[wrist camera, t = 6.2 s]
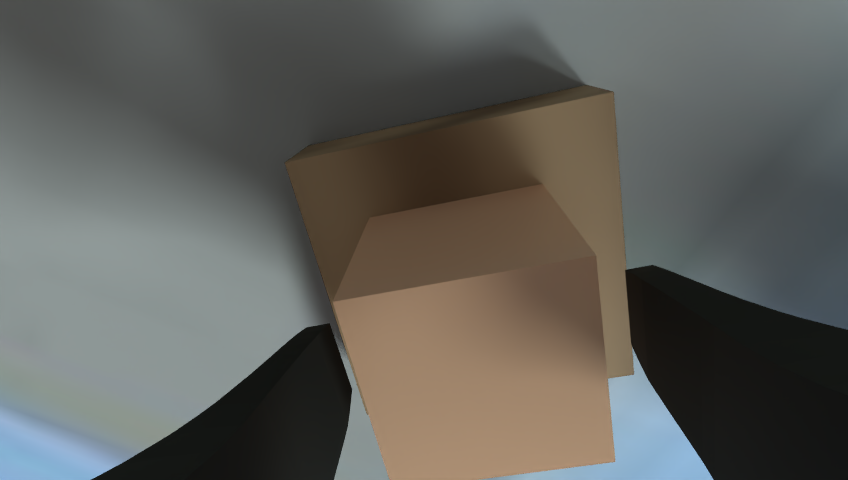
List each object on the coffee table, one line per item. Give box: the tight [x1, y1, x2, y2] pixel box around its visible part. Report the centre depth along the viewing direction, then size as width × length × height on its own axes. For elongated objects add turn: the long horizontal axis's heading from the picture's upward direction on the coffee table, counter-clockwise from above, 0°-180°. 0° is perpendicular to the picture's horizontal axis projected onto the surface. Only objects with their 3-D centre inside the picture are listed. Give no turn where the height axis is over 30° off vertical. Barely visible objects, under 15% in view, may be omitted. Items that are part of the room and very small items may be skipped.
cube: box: [333, 184, 615, 480], centre depth 12 cm, size 5×5×5 cm
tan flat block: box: [285, 85, 634, 415], centre depth 16 cm, size 9×9×3 cm
